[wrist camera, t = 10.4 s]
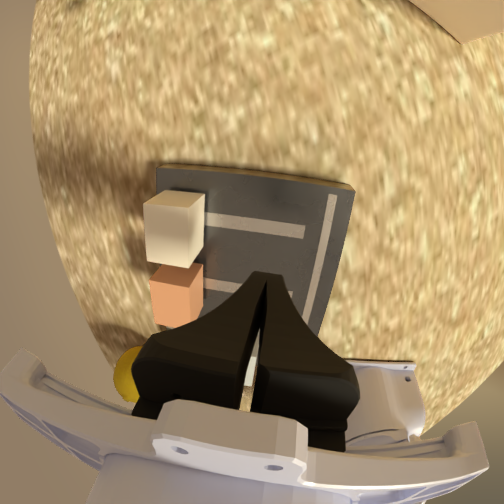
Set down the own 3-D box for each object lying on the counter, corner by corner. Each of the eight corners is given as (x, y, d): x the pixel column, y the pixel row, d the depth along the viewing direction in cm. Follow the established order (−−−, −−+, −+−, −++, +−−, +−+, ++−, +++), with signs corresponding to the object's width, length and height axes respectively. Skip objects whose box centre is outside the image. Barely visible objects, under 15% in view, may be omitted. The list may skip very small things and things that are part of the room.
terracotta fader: (203, 264, 21) (189, 287, 18) (203, 305, 23) (191, 331, 20) (166, 258, 21) (149, 280, 18) (170, 299, 23) (154, 323, 20)
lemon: (124, 334, 30) (93, 381, 23) (159, 330, 29) (128, 384, 22) (147, 365, 32) (123, 413, 25) (182, 364, 31) (159, 417, 24)
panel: (349, 184, 19) (355, 191, 18) (305, 357, 27) (305, 372, 26) (167, 163, 20) (156, 167, 19) (175, 335, 29) (169, 348, 27)
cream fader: (204, 193, 19) (188, 208, 16) (203, 246, 20) (188, 268, 17) (165, 190, 19) (143, 203, 16) (166, 240, 21) (146, 261, 18)
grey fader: (261, 329, 23) (256, 357, 20) (256, 359, 25) (251, 386, 22) (226, 323, 23) (217, 350, 20) (225, 354, 25) (217, 380, 22)
